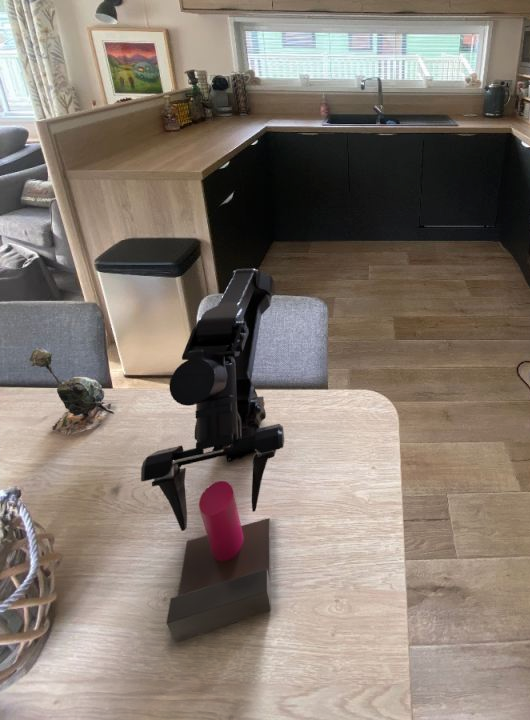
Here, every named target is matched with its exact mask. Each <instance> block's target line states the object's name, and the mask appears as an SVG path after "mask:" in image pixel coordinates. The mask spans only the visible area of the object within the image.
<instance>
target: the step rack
mask: <svg viewBox="0 0 530 720" xmlns="http://www.w3.org/2000/svg"><path fill="white" fill-rule="evenodd" d="M241 527H242V532H243V544H242V547H241V549H240V550H239V552H238V553H237V554H236V555H235V556H234V557H233V558H231V559H230V560H227V561H218V560H216V559H215V558H214V556H213V554H212V550H211V547H210V543H209V540H208V536H207V534H206V535H203V536H200V537H195V538H193V539H189V540H187V541H186V544H185V551H184V557H183V562H182V569H181V575H180V581H179V587H178V593H177V595H176V596H173V597H170V602H169V606H168V612H167V617H166V623H165V624H166V626H167V628H168V631H169V633H170V636H171V638H172V641H173V643H179V642H181V641H184V640H187V639H190V638H192V637H196V636H199V635H201V634H205V633H207V632H211V631H214V630H217V629H219V628H223V627H226V626H228V625H233V624H235V623H238V622H241V621H244V620H247V619H250V618H253V617H256V616H259V615H262V614H265V613H267V612H271V611H272V524H271V519H270V517H268V518H265V519H260V520H257V521H254V522H250V523H246V524H243V525H241Z"/></svg>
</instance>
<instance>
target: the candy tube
mask: <svg viewBox="0 0 530 720" xmlns="http://www.w3.org/2000/svg"><path fill="white" fill-rule="evenodd" d="M198 508H199V511H200V514H201V519H202V522H203V525H204V529H205V532H206V533H205V534H206V535H207V536H208V540H209V543H210V547H211V550H212V554H213V556H214V558H215V559H216V560H218V561H227V560H230V559H231V558H233V557H234V556H235V555H236V554H237V553H238V552H239V550H240V549H241V547H242V544H243V532H242V527H241V526H242V523H241V519H240V515H239V514H240V513H239V510H238V506H237V501H236V496H235V492H234V487H233V486H232V484H231V483H230V482H228V481H226V480H219V481H215V482H213V483H211V484H210V485H209V486H207V487H206V489H204V491H203V492H202V494H201V495H200V498H199V501H198Z"/></svg>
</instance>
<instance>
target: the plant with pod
mask: <svg viewBox="0 0 530 720" xmlns="http://www.w3.org/2000/svg"><path fill="white" fill-rule="evenodd" d="M52 357H53V354H52V352H50V351H48V350H47V349H45V348H43V347H35V348H34V350H33V351H32V353H31V356H30V357H29V359H28V360H29V362H32V364H31V367H35V366H36V367H40V368H45V369H46V370H48V372H49V373H50V374H51V375H52V377H54V379H55V380H56V382H57V384H58V385H57V388H56V393H57V394H58V397H59V399H60V401H61V402H62V403H63V405H64V408H65V412H64V413H63V415H62V416H61V417H59V419H58V420H57V421H56V423H54V425H52V427H51V429H52V431H55V432H58V433H62V434H64V435H68V436H72V435H75V434H77V433H80V432H86V431H87V430H90V429H95V428H97V427H98V426H100V424H101V423H102V422H103V421H104V420H105V418H107V415H108V414H112V415H114V414H115V413H116V412H115V411H114V409H112V404H111V403H109V402H104V401H103V400H104V398H105V391H104V389H103V387H102V384H100V383H99V382H98V381H97V380H96V379H95V378H90V377H87V376H74V377H70V378H68V379H66V380H64V381H63V382H61V381H60V379H59V377H58V376H57V375H56V374H55V372H53V370H52V366H51V364H52Z"/></svg>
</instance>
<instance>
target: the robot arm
mask: <svg viewBox="0 0 530 720" xmlns="http://www.w3.org/2000/svg"><path fill="white" fill-rule="evenodd" d="M275 283H276V282H275V279H274V278H273V277H272V275H269V274H266V273H264V272H261V271H260V270H259V269H256V268H253V267H252V268H237V269H235V270H233V271H232V273H231V278H230V281H229V283H228V285H227V286H226V289H225V291H224V293H223V295H222V296H221V298H220V300H219V301H218V304H217V305H216V306H214V307H211V308H209V309H207V310H205V311H204V313H203V314H202V315H201V316H200V317H199V318H198V320H197V322H196V323H195V324H194V326H192V327H193V328H192V330H191V333H190V335H189V337H188V340H187V343H186V345H185V348H184V349H183V353H182V355H181V360H182V361H183V362H182V363H181V364H179V366H177V368H176V369H175V370H174V371H173V373H172V376H171V377H170V379H169V384H168V385H169V392H170V396H171V397H172V399H173V400H174V401H175V402H176V403H177V404H180V405H181V406H187V407H188V406H195V405H196V407H195V408H196V410H195V420H196V421H195V425H194V434H193V435H194V440H196V442H195V448H190V449H186V450H185V449H184V448H183V445H177V446H173V447H169V448H165V449H164V448H163V449H160V450H157V451H154V452H153V453H151V454H150V455H147V456H146V457H145V459H144V460H143V462H142V465H141V469H140V470H141V471H140V482H147V481H151V480H153V481H151V487H159V489H160V490H161V491H162V493H163V495H164V496H165V498H166V499H167V501H168V503H169V505H170V508H171V509H172V512H173V514H174V516H175V520H176V521H177V524H178V526H179V529H180V531H181V532H184V531H186V529H187V527H188V509H187V496H186V485H185V483H186V471H187V468H186V467H183V468H181V467H182V466H186V465H190V464H195V463H198V462H204V461H207V460H211V459H212V460H213V459H216V458H220V457H225V459H226V462H227V463H231V462H234V461H237V460H239V459H242V458H244V457H246V456H249V455H251V454H254V453H255V454H254V456H253V458H252V475H251V477H252V478H251V511H252V512H253V513H254V512H256V511H257V506H258V501H259V497H260V492H261V487H262V481H263V476H264V472H265V469H266V466H267V463H268V460H269V459H272V458H275V456H276V453H277V450H280V449H283V448H284V445H285V431H284V430H285V429H284V426H283V425H281V424H280V423H276V424H271V425H266V426H262V427H261V423H262V422H263V421H264V420H265V419H266V417H267V414H266V408H265V399H264V396H258V393H257V391H256V388H255V386H254V384H253V382H252V378H253V371H254V364H255V359H256V354H257V353H256V352H257V347H258V346H257V345H258V339H259V334H260V333H259V332H260V325H261V319H262V316H263V314H265V312H266V311H267V310H268V309H269V308H270V306H271V304H272V298H273V297H274V296H275V291H276V284H275ZM211 448H212V449H211ZM206 449H211V451H206V452H205V450H206Z"/></svg>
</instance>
